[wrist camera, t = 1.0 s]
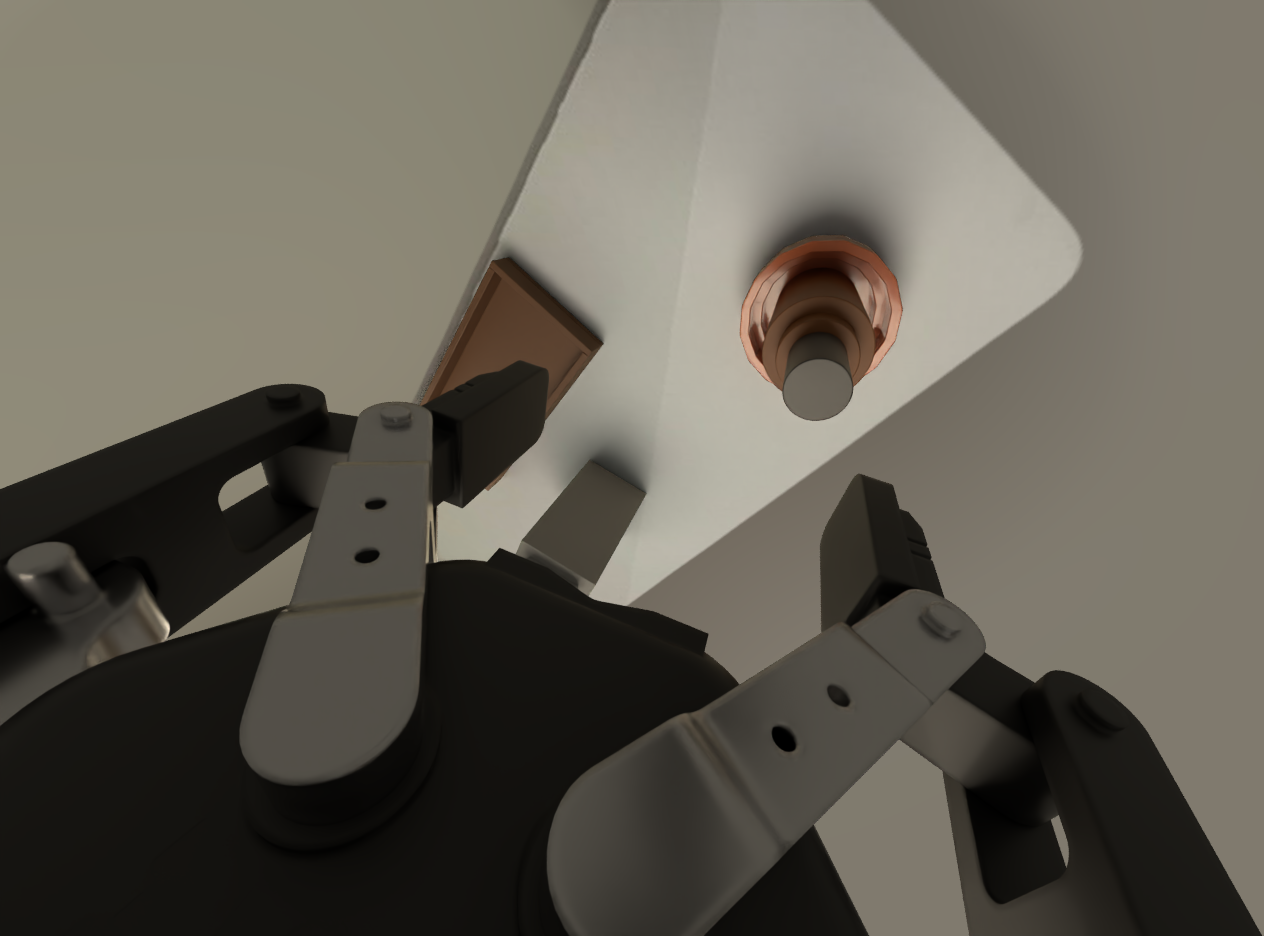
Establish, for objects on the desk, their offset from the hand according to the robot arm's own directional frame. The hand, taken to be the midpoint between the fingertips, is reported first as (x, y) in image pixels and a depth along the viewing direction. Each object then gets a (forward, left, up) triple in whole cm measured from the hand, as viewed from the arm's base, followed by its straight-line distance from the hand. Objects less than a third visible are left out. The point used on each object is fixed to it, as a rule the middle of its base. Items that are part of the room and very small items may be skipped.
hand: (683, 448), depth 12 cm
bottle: (+2, +4, -27) cm, 27 cm away
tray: (+10, -24, -28) cm, 38 cm away
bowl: (+2, +4, -28) cm, 28 cm away
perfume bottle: (+22, -14, -28) cm, 38 cm away
